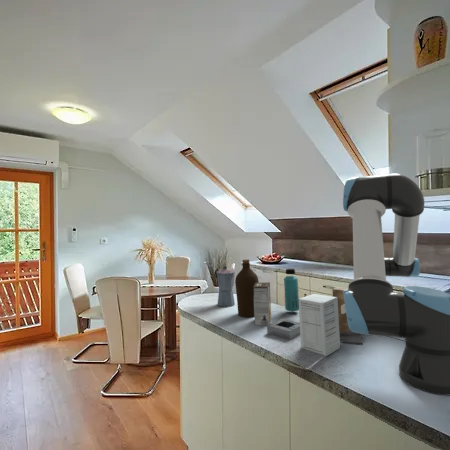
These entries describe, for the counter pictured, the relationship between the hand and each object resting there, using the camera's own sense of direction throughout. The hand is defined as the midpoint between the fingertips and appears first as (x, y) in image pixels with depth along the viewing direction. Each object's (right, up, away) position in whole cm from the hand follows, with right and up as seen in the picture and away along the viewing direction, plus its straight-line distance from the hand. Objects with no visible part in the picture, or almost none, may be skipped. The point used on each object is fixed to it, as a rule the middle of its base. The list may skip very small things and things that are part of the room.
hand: (335, 308), depth 110 cm
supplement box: (-7, -12, -6) cm, 15 cm away
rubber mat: (+4, -11, +4) cm, 12 cm away
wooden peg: (+4, -9, +4) cm, 10 cm away
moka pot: (-38, -12, +53) cm, 67 cm away
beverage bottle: (-8, -11, +35) cm, 37 cm away
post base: (-15, -12, +9) cm, 21 cm away
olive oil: (-27, -12, +35) cm, 46 cm away
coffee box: (-22, -12, +23) cm, 34 cm away
